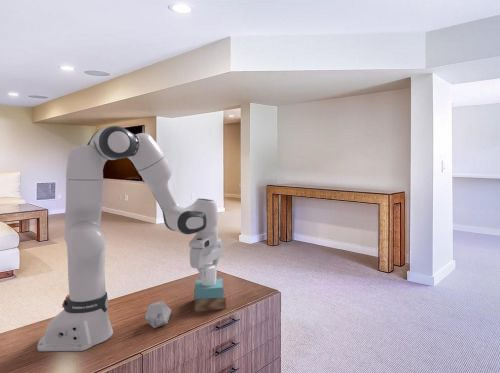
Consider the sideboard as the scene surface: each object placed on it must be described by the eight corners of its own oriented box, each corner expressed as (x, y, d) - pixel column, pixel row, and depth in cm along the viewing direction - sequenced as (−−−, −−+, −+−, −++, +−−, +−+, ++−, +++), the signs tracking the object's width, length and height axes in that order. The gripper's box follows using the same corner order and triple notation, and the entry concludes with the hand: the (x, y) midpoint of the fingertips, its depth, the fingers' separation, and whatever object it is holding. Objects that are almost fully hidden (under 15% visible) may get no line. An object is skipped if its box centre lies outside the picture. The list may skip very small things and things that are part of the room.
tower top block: (194, 299, 140) (194, 289, 139) (196, 289, 150) (195, 279, 150) (223, 297, 141) (223, 287, 140) (222, 287, 152) (222, 278, 151)
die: (140, 329, 127) (146, 313, 122) (146, 309, 134) (153, 293, 129) (163, 335, 128) (170, 319, 123) (168, 314, 136) (175, 299, 130)
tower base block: (194, 312, 139) (194, 300, 139) (194, 300, 151) (194, 289, 151) (225, 309, 141) (225, 297, 141) (223, 298, 153) (222, 286, 153)
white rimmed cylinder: (206, 287, 141) (205, 270, 140) (197, 283, 146) (196, 266, 145) (220, 283, 145) (220, 266, 144) (211, 279, 150) (210, 262, 150)
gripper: (213, 233, 155) (214, 265, 156) (186, 243, 136) (187, 279, 137) (226, 234, 152) (227, 266, 153) (200, 245, 133) (201, 281, 134)
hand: (208, 272), depth 145 cm, fingers open, 8 cm apart
